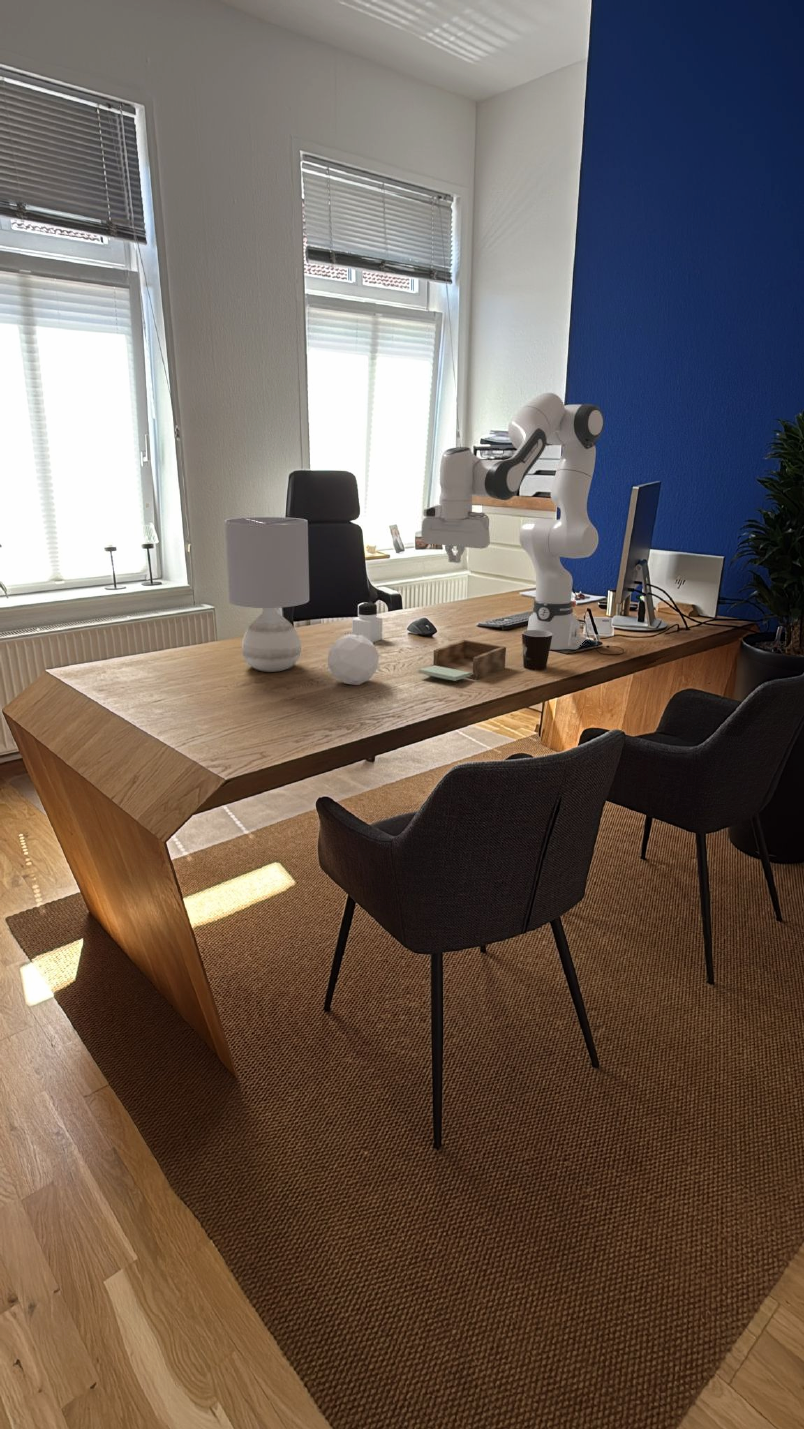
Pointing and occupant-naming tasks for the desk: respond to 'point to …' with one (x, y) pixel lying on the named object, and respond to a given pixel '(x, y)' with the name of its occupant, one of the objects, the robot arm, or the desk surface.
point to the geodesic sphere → (353, 659)
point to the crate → (471, 657)
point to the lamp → (268, 584)
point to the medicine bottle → (368, 622)
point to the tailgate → (444, 673)
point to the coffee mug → (536, 649)
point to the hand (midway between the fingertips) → (454, 562)
